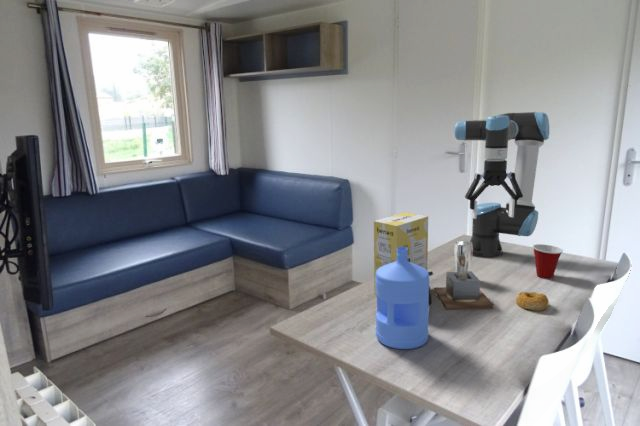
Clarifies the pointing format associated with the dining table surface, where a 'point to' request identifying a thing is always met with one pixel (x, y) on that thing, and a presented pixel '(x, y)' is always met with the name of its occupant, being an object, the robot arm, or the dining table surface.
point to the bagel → (532, 301)
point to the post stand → (462, 304)
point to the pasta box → (400, 239)
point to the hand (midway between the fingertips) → (492, 217)
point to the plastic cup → (546, 260)
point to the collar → (462, 286)
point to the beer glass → (463, 255)
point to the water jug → (402, 303)
